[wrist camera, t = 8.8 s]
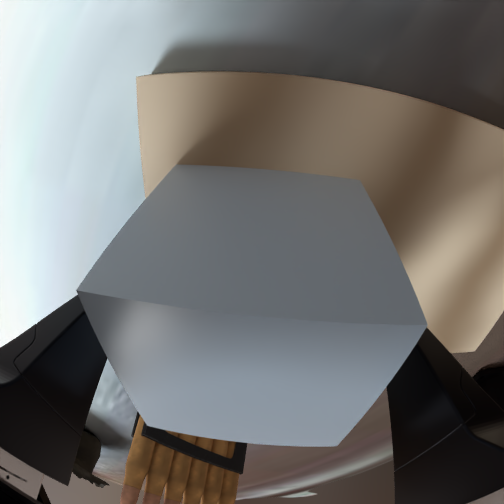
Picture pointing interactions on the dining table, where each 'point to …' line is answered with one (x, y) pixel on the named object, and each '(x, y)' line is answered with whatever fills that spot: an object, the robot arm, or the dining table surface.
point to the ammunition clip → (181, 467)
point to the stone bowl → (88, 459)
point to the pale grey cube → (253, 305)
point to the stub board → (355, 170)
